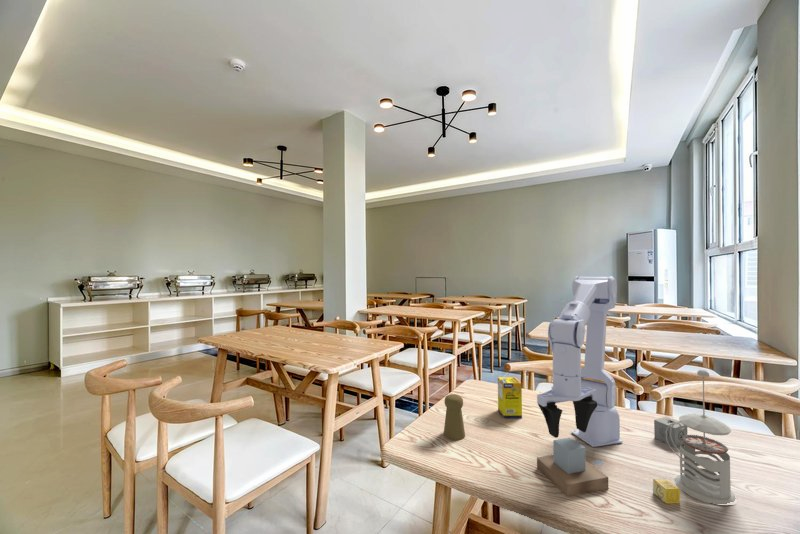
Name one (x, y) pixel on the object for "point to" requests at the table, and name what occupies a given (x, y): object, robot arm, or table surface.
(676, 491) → the alphabet block
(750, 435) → the table surface
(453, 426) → the olive pawn
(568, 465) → the slate block
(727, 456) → the french press
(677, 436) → the dice cube
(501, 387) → the supplement box
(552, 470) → the walnut block
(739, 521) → the table surface
